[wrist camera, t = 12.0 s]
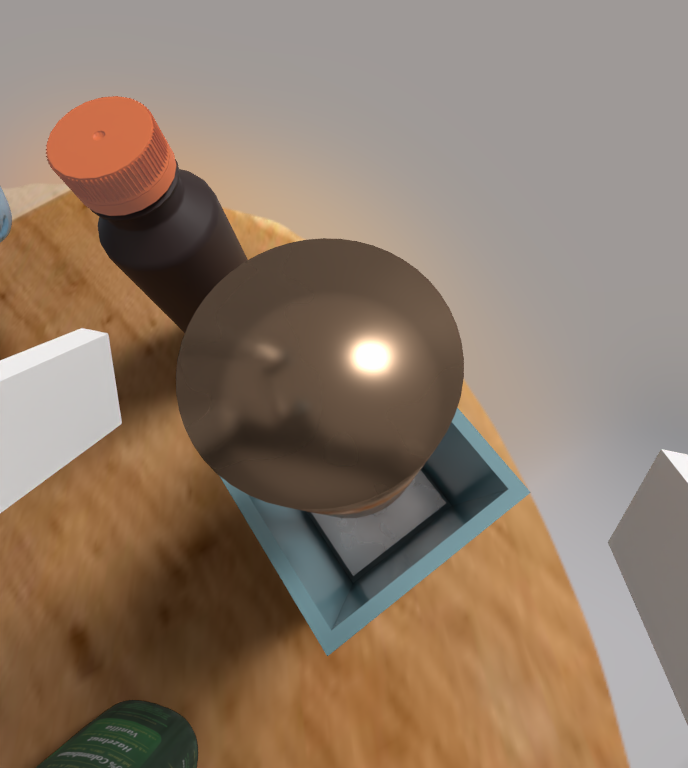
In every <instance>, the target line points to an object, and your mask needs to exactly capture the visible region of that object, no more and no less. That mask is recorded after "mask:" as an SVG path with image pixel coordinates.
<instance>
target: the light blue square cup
mask: <svg viewBox="0 0 688 768" xmlns="http://www.w3.org/2000/svg"><path fill="white" fill-rule="evenodd" d="M421 471H422V472H423V474H424V475H425V476H426V478H427V479H428V480H429V481H430V483H431V484H432V485H433V487H434V488H435V489H436V490H437V492H438V493H439V494H440V496H441V497H442V498H443V499H444V501H445V502H446V504H445V505H443V506H442V507H441V508H440V509H438V510H437V511H436V512H434V513H433V514H432V515H431V516H429V517H428V518H427V519H425V520H424V521H423V522H422V523H420V524H419V525H418V526H417V527H415V528H414V529H413V530H411V531H410V532H409V533H408V534H406V535H405V536H404V537H403V538H401V539H400V540H399V541H397V542H396V543H395V544H394V545H392V546H391V547H390V548H388V549H387V550H386V551H385V552H383V553H382V554H381V555H380V556H378V557H377V558H376V559H374V560H373V561H372V562H371V563H369V564H368V565H367V566H366V567H364V568H363V569H362V570H360V571H359V572H358V573H357V574H355V575H354V576H353V575H352V574H351V572H350V571H349V569H348V567H347V566H346V564H345V563H344V561H343V560H342V558H341V557H340V555H339V554H338V552H337V551H336V549H335V548H334V546H333V545H332V543H331V542H330V540H329V539H328V537H327V536H326V534H325V533H324V531H323V530H322V528H321V526H320V525H319V523H318V522H317V520H316V519H315V517H314V516H313V514H312V513H311V512H307V511H302V510H297V509H292V508H287V507H283V506H279V505H275V504H271V503H267V502H264V501H262V500H259V499H257V498H254V497H252V496H249V495H248V494H246V493H244V492H242V491H241V490H239V489H237V488H235V487H234V486H232V485H231V484H229V483H228V482H227V481H226V480H224V479H223V478H222V477H220V478H221V479H222V481H223V483H224V484H225V486H226V488H227V489H228V491H229V493H230V494H231V496H232V498H233V499H234V501H235V503H236V504H237V506H238V508H239V509H240V511H241V513H242V514H243V516H244V518H245V519H246V521H247V523H248V524H249V526H250V528H251V529H252V531H253V533H254V534H255V536H256V538H257V539H258V541H259V543H260V544H261V546H262V548H263V549H264V551H265V553H266V554H267V556H268V558H269V559H270V561H271V563H272V564H273V566H274V568H275V569H276V571H277V573H278V574H279V576H280V578H281V579H282V581H283V583H284V585H285V586H286V588H287V590H288V591H289V593H290V595H291V596H292V598H293V600H294V601H295V603H296V605H297V606H298V608H299V610H300V611H301V613H302V615H303V616H304V618H305V620H306V621H307V623H308V625H309V626H310V628H311V630H312V631H313V633H314V635H315V636H316V638H317V640H318V641H319V643H320V645H321V646H322V648H323V650H324V651H325V653H326V655H327V656H328V655H330V654H331V653H332V652H333V651H335V650H336V649H337V648H338V647H340V646H341V645H342V644H343V643H345V642H346V641H347V640H348V639H349V638H351V637H352V636H353V635H354V634H356V633H357V632H358V631H359V630H361V629H362V628H363V627H364V626H366V625H367V624H368V623H369V622H371V621H372V620H373V619H374V618H376V617H377V616H378V615H379V614H380V613H382V612H383V611H384V610H385V609H387V608H388V607H389V606H390V605H392V604H393V603H394V602H395V601H397V600H398V599H399V598H400V597H402V596H403V595H404V594H405V593H407V592H408V591H409V590H410V589H411V588H413V587H414V586H415V585H416V584H418V583H419V582H420V581H421V580H423V579H424V578H425V577H426V576H428V575H429V574H430V573H431V572H433V571H434V570H435V569H436V568H438V567H439V566H440V565H441V564H442V563H444V562H445V561H446V560H447V559H449V558H450V557H451V556H452V555H454V554H455V553H456V552H457V551H459V550H460V549H461V548H462V547H464V546H465V545H466V544H467V543H469V542H470V541H471V540H472V539H473V538H475V537H476V536H477V535H478V534H480V533H481V532H482V531H483V530H485V529H486V528H487V527H488V526H490V525H491V524H492V523H493V522H495V521H496V520H497V519H498V518H499V517H501V516H502V515H503V514H504V513H506V512H507V511H508V510H509V509H511V508H512V507H513V506H514V505H516V504H517V503H518V502H519V501H521V500H522V499H523V498H524V497H526V496H527V495H528V494H529V493H530V491H529V490H528V489H527V488H526V487H525V485H524V484H523V483H522V482H521V481H520V480H519V479H518V477H517V476H516V475H515V474H514V473H513V472H512V470H511V469H510V468H509V467H508V466H507V465H506V463H505V462H504V461H503V460H502V459H501V458H500V457H499V455H498V454H497V453H496V452H495V451H494V450H493V448H492V447H491V446H490V445H489V444H488V443H487V441H486V440H485V439H484V438H483V437H482V436H481V434H480V433H479V432H478V431H477V430H476V429H475V428H474V426H473V425H472V424H471V423H470V422H469V421H468V419H467V418H466V417H465V416H464V415H463V414H462V412H461V411H460V410H459V409H458V408H457V410H456V413H455V416H454V418H453V420H452V422H451V424H450V426H449V428H448V431H447V432H446V434H445V436H444V437H443V439H442V440H441V442H440V443H439V445H438V446H437V448H436V449H435V451H434V452H433V453H432V455H431V456H430V457H429V459H428V460H427V462H426V463H425V464H424V466H423V467H422V468H421Z"/></svg>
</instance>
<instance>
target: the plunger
mask: <svg viewBox="0 0 688 768" xmlns="http://www.w3.org/2000/svg"><path fill="white" fill-rule="evenodd" d="M463 372H464V358H463V350H462V343H461V339H460V335H459V332H458V328H457V325H456V322H455V320H454V318H453V316H452V313H451V311H450V309H449V307H448V306H447V304H446V302H445V301H444V299H443V298H442V296H441V294H440V293H439V292H438V291H437V289H436V288H435V287H434V286H433V285H432V283H431V282H430V281H429V280H428V279H427V278H426V277H424V275H422V274H421V273H420V272H419V271H418V270H417V269H416V268H414V267H413V266H411V265H410V264H409V263H407V262H406V261H404V260H403V259H401V258H399V257H397V256H395V255H394V254H392V253H390V252H388V251H385V250H383V249H380V248H378V247H375V246H372V245H369V244H365V243H361V242H357V241H350V240H343V239H312V240H303V241H298V242H293V243H288V244H285V245H282V246H279V247H275V248H273V249H270V250H268V251H266V252H263V253H261V254H259V255H257V256H255V257H253V258H251V259H250V260H248V261H246V262H244V263H243V264H241V265H240V266H238V267H237V268H236V269H234V270H233V271H231V272H230V273H229V274H228V275H227V276H225V277H224V278H223V279H222V280H221V281H220V282H219V283H218V284H217V285H216V286H215V287H214V288H213V289H212V290H211V291H210V293H209V294H208V295H207V296H206V297H205V299H204V300H203V301H202V303H201V304H200V306H199V307H198V309H197V310H196V312H195V314H194V315H193V317H192V319H191V321H190V323H189V325H188V327H187V330H186V332H185V335H184V337H183V340H182V343H181V347H180V351H179V355H178V360H177V370H176V394H177V400H178V406H179V411H180V414H181V418H182V421H183V424H184V427H185V429H186V431H187V433H188V435H189V437H190V439H191V441H192V443H193V445H194V447H195V448H196V449H197V451H198V452H199V454H200V455H201V457H202V458H203V459H204V461H205V462H206V463H207V464H208V465H209V466H210V467H211V468H212V469H213V470H214V471H215V472H216V473H217V474H218V475H219V476H220V477H222V478H223V479H224V480H226V481H227V482H228V483H229V484H231V485H232V486H234V487H235V488H237V489H239V490H241V491H242V492H244V493H246V494H248V495H249V496H252V497H254V498H257V499H259V500H262V501H264V502H267V503H271V504H275V505H279V506H283V507H287V508H292V509H297V510H302V511H307V512H311V513H312V514H313V516H314V517H315V519H316V520H317V522H318V523H319V525H320V526H321V528H322V530H323V531H324V533H325V534H326V536H327V537H328V539H329V540H330V542H331V543H332V545H333V546H334V548H335V549H336V551H337V552H338V554H339V555H340V557H341V558H342V560H343V561H344V563H345V564H346V566H347V567H348V569H349V571H350V572H351V574H352V575H353V576H354V575H355V574H357V573H358V572H359V571H360V570H362V569H363V568H364V567H366V566H367V565H368V564H369V563H371V562H372V561H373V560H374V559H376V558H377V557H378V556H380V555H381V554H382V553H383V552H385V551H386V550H387V549H388V548H390V547H391V546H392V545H394V544H395V543H396V542H397V541H399V540H400V539H401V538H403V537H404V536H405V535H406V534H408V533H409V532H410V531H411V530H413V529H414V528H415V527H417V526H418V525H419V524H420V523H422V522H423V521H424V520H425V519H427V518H428V517H429V516H431V515H432V514H433V513H434V512H436V511H437V510H438V509H440V508H441V507H442V506H443V505H445V504H446V502H445V501H444V499H443V498H442V497H441V496H440V494H439V493H438V492H437V490H436V489H435V488H434V487H433V485H432V484H431V483H430V481H429V480H428V479H427V478H426V476H425V475H424V474H423V472H422V471H421V468H422V467H423V466H424V464H425V463H426V462H427V460H428V459H429V457H430V456H431V455H432V453H433V452H434V451H435V449H436V448H437V446H438V445H439V443H440V442H441V440H442V439H443V437H444V436H445V434H446V432H447V431H448V428H449V426H450V424H451V422H452V420H453V418H454V416H455V413H456V410H457V406H458V403H459V400H460V397H461V391H462V384H463V378H464V373H463Z"/></svg>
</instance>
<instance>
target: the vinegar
mask: <svg viewBox="0 0 688 768" xmlns="http://www.w3.org/2000/svg"><path fill="white" fill-rule="evenodd" d="M46 146H47V149H46V150H47V152H46V154H47V156H46V157H47V158H48V159H47V160H48V162H49V164H50V167H51V168H52V169H53V170H54V172H55V173H56V174H57V175H58V176H59V177H60V178H61V179H62V180H63V181H64V182H65V184H66V185H67V186H68V187H69V188H70V189H71V190H72V191H73V192H74V194H75V195H76V196H77V197H78V198H79V199H80V200H81V201H82V202H83V203H84V205H85V206H87V207H88V208H90V209H91V211H92V212H94V213H95V214H97V215H98V216H100V217H99V221H98V231H99V238H100V243H101V245H102V246H103V248H104V250H105V251H106V253H107V255H108V256H109V258H110V259H111V260H112V261H113V262H114V263H115V264H116V265H117V266H118V267H119V268H120V269H121V270H122V271H123V272H124V273H125V274H126V275H127V276H128V277H129V278H130V279H131V280H132V281H133V282H134V283H135V284H136V285H137V286H138V287H139V288H140V289H141V290H142V291H143V292H144V293H145V294H146V295H147V296H148V297H149V298H150V299H151V300H152V301H153V302H154V303H155V304H156V305H157V306H158V307H159V308H160V309H161V310H162V311H163V312H164V313H165V314H166V315H167V316H168V317H169V318H170V319H171V320H172V321H173V322H174V323H175V324H176V325H177V326H178V327H179V328H180V329H181V330H182V331H183V332H184V333H185V332H186V330H187V327H188V325H189V323H190V321H191V319H192V317H193V315H194V314H195V312H196V310H197V309H198V307H199V306H200V304H201V303H202V301H203V300H204V299H205V297H206V296H207V295H208V294H209V293H210V291H211V290H212V289H213V288H214V287H215V286H216V285H217V284H218V283H219V282H220V281H221V280H222V279H223V278H224V277H225V276H227V275H228V274H229V273H230V272H231V271H233V270H234V269H236V268H237V267H238V266H240V265H241V264H243V263H244V262H246V261H248V260H247V257H246V255H245V253H244V251H243V249H242V247H241V245H240V243H239V241H238V239H237V237H236V235H235V233H234V231H233V229H232V227H231V225H230V223H229V221H228V219H227V217H226V215H225V213H224V211H223V209H222V207H221V205H220V203H219V201H218V199H217V197H216V195H215V193H214V192H213V191H212V190H211V188H210V187H209V186H208V184H207V183H206V182H205V181H204V180H202V179H201V178H199V177H198V176H196V175H194V174H192V173H191V172H189V171H185V170H180V169H179V168H178V163H177V161H176V159H175V157H174V153H173V151H172V150H171V148H170V146H169V144H168V142H167V141H166V139H165V137H164V136H163V134H162V132H161V130H160V128H159V127H158V125H157V123H156V121H155V119H154V117H153V116H152V114H151V112H150V111H149V110H148V109H147V108H146V107H145V106H144V105H142V104H141V103H138V101H135V100H134V99H133V100H132V99H130V98H124V97H118V96H115V97H114V96H113V97H102V98H98V99H95V100H91V101H88V102H85V103H83V104H82V105H80V106H78V107H76V108H74V109H72V110H71V111H70V112H68V114H66V115H65V116H64V117H63V118H62V119H61V120H59V121H58V123H57V124H56V126H55V127H54V129H53V130H52V132H51V133H50V136H49V138H48V142H47V145H46Z"/></svg>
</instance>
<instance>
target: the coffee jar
mask: <svg viewBox="0 0 688 768" xmlns="http://www.w3.org/2000/svg"><path fill="white" fill-rule="evenodd" d="M197 761H198V744H197V739H196V735H195V733H194V731H193V729H192V727H191V726H190V724H189V722H188V721H187V720H186V719H185V718H184V717H182V716H181V715H180V714H178V713H177V712H175V711H173V710H171V709H169V708H166V707H163V706H160V705H158V704H155V703H150V702H146V701H139V700H129V701H124V702H121V703H118V704H116V705H114V706H113V707H111V708H110V709H108V710H107V711H105V712H104V713H103V714H101V715H100V716H99V717H97V718H96V719H95V720H93V721H92V722H91V723H89V724H88V725H87V726H85V727H84V728H83V729H81V730H80V731H79V732H78V733H77V734H75V735H74V736H73V737H72V738H71V739H69V740H68V741H67V742H66V743H65V744H64V745H63V746H61V747H60V748H59V749H58V750H57V751H55V752H54V753H53V754H52V755H50V756H49V757H48V758H47V759H46V760H44V761H43V762H42V763H41V764H40V765H38V766H37V767H36V768H197Z"/></svg>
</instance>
